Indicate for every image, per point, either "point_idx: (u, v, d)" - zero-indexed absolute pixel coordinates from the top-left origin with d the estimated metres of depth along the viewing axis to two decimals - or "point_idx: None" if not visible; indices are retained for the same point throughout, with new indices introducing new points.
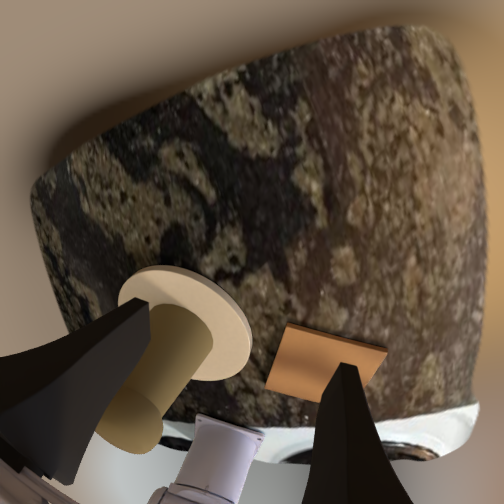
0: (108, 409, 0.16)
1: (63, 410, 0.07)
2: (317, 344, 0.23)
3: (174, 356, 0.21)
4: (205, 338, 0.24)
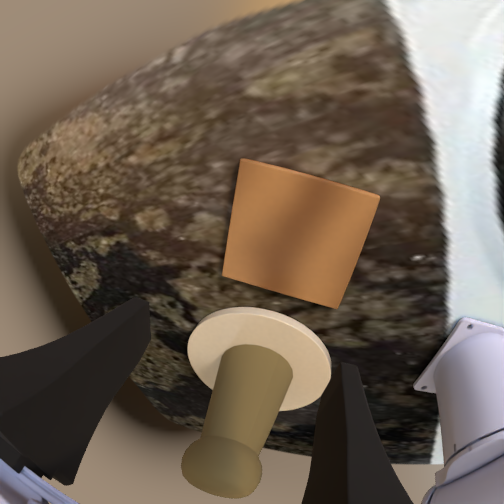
0: (181, 467, 0.17)
1: (63, 410, 0.07)
2: (240, 245, 0.20)
3: (218, 390, 0.21)
4: (242, 352, 0.23)
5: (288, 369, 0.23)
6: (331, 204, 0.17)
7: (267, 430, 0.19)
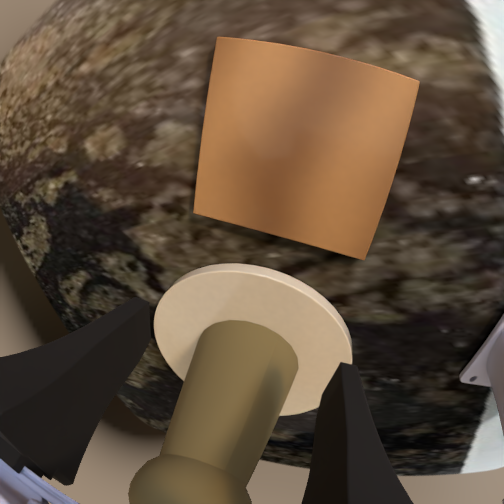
0: None
1: (63, 410, 0.07)
2: (218, 161, 0.13)
3: (188, 385, 0.14)
4: (224, 331, 0.16)
5: (292, 357, 0.16)
6: (350, 89, 0.10)
7: (260, 447, 0.12)
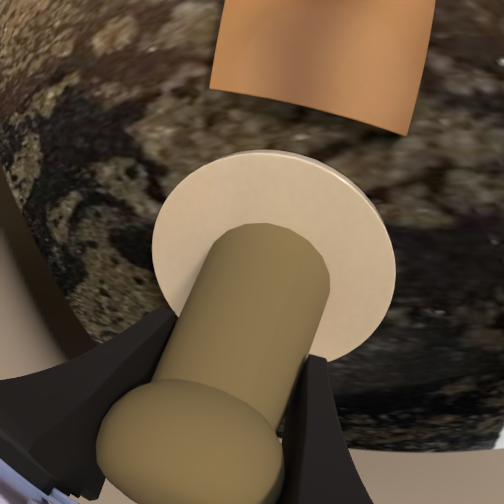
0: None
1: (93, 428, 0.07)
2: (240, 30, 0.10)
3: (192, 295, 0.11)
4: (240, 234, 0.13)
5: (324, 270, 0.13)
6: None
7: (293, 376, 0.09)
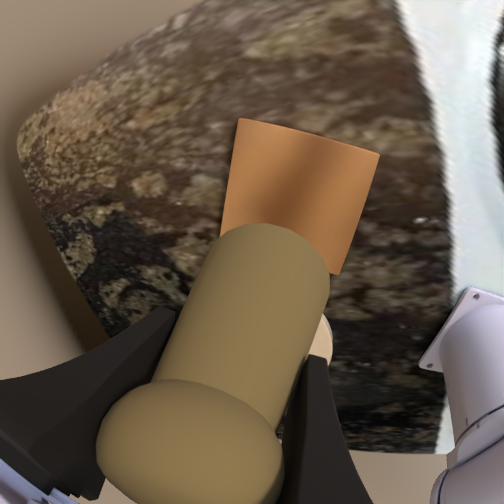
0: None
1: (93, 428, 0.07)
2: (238, 207, 0.19)
3: (192, 295, 0.11)
4: (240, 234, 0.13)
5: (323, 270, 0.14)
6: (330, 162, 0.17)
7: (293, 377, 0.09)
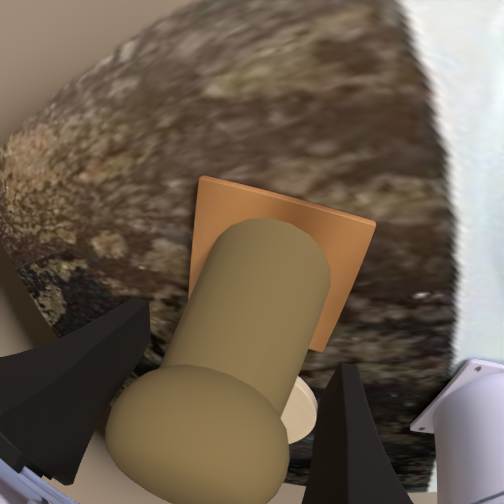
0: None
1: (63, 410, 0.07)
2: None
3: (198, 287, 0.12)
4: (244, 229, 0.14)
5: (324, 263, 0.14)
6: (313, 233, 0.14)
7: (296, 364, 0.10)
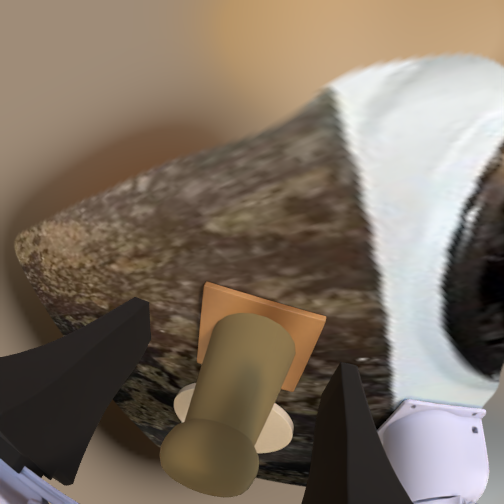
0: None
1: (63, 410, 0.07)
2: None
3: (207, 365, 0.18)
4: (235, 322, 0.20)
5: (290, 343, 0.20)
6: (282, 324, 0.20)
7: (265, 414, 0.16)
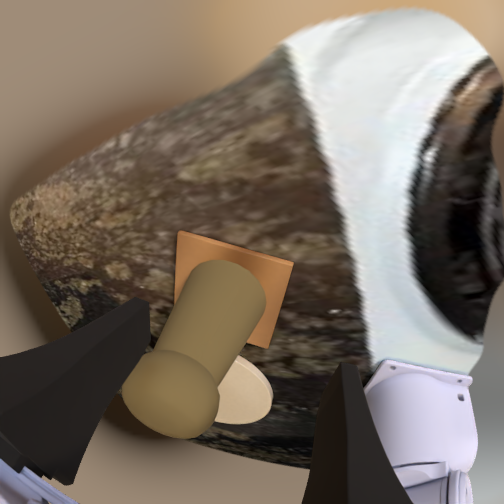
0: None
1: (63, 410, 0.07)
2: None
3: (176, 306, 0.19)
4: (206, 267, 0.21)
5: (259, 290, 0.21)
6: (251, 270, 0.21)
7: (229, 352, 0.17)
